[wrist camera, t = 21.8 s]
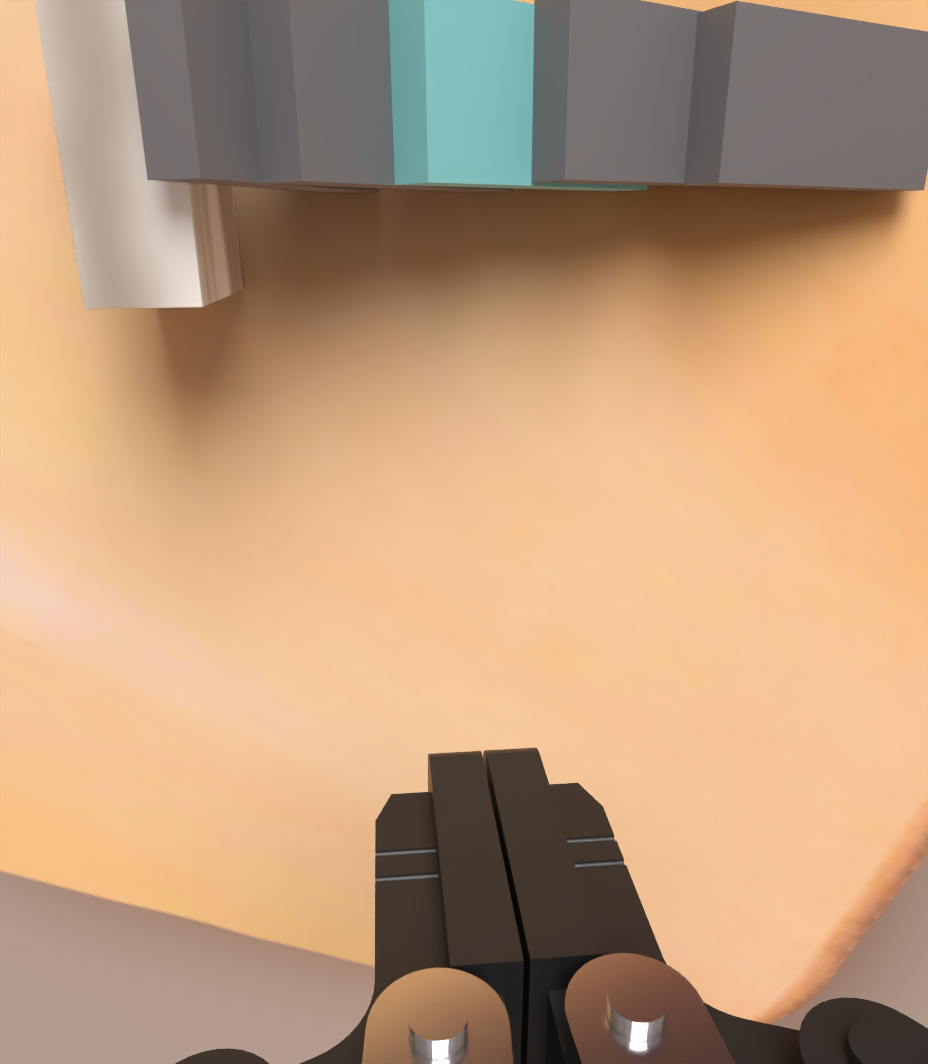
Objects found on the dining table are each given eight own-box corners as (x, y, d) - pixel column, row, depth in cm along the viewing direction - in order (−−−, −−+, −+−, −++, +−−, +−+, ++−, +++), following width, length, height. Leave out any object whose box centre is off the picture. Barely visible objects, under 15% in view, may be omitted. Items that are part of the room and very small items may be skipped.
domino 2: (515, 31, 34) (286, -36, 25) (513, 190, 36) (301, 180, 27) (476, 38, 35) (244, -24, 26) (477, 192, 37) (262, 183, 28)
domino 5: (951, 35, 35) (737, 0, 30) (923, 190, 37) (718, 182, 32) (908, 44, 36) (698, 12, 31) (884, 191, 39) (683, 185, 33)
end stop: (207, -80, 33) (146, -187, 24) (243, 289, 38) (202, 306, 29) (102, -82, 32) (3, -192, 24) (152, 291, 37) (84, 309, 29)
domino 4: (794, 28, 34) (570, -12, 28) (777, 185, 36) (564, 179, 30) (755, 37, 36) (534, 0, 30) (740, 187, 38) (531, 182, 32)
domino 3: (611, 191, 37) (394, 185, 30) (619, 39, 35) (388, -6, 28) (647, 189, 36) (428, 182, 29) (657, 31, 34) (423, -19, 27)
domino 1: (371, 32, 34) (174, -55, 23) (378, 191, 36) (200, 178, 25) (328, 36, 34) (118, -46, 24) (337, 193, 36) (147, 180, 26)
